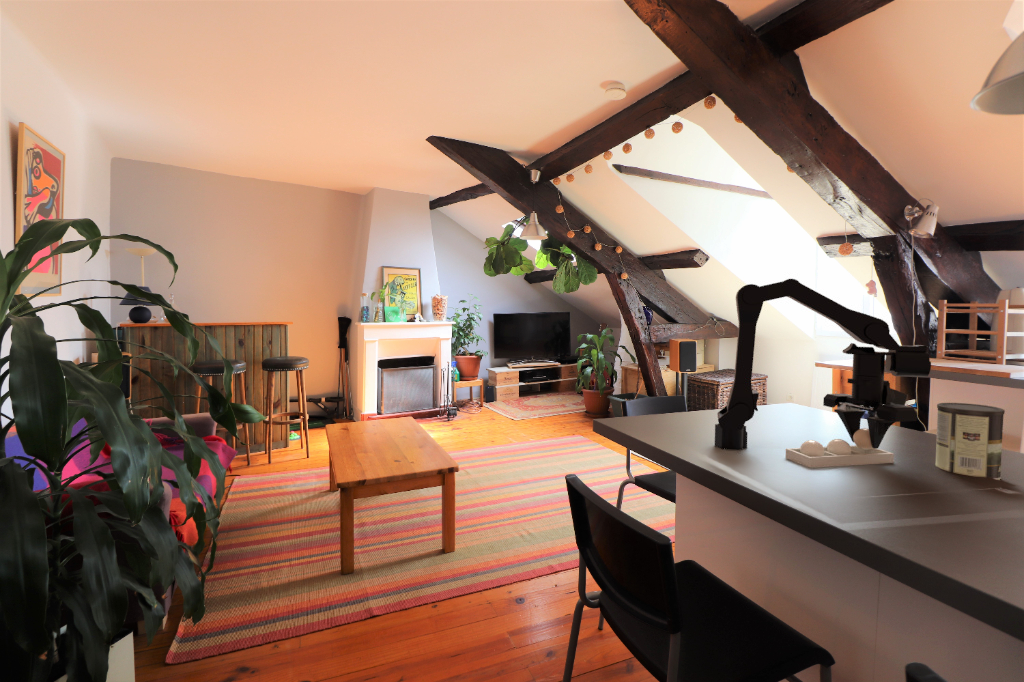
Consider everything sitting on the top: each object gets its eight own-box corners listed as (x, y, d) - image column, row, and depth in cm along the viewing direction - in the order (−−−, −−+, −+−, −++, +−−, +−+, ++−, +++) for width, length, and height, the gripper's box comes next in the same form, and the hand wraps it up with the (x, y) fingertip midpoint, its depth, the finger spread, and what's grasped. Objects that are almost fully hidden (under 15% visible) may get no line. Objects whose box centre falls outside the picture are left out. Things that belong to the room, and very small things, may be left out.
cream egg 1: (810, 465, 107) (811, 443, 107) (794, 458, 112) (795, 438, 111) (829, 464, 108) (830, 442, 108) (813, 457, 112) (814, 437, 112)
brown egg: (865, 452, 109) (866, 431, 109) (847, 446, 114) (848, 426, 113) (883, 451, 110) (884, 430, 110) (865, 445, 114) (866, 425, 114)
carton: (809, 471, 106) (809, 457, 105) (785, 461, 113) (785, 448, 113) (893, 467, 109) (893, 453, 109) (864, 457, 116) (865, 444, 116)
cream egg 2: (837, 463, 108) (838, 442, 108) (821, 457, 113) (821, 437, 112) (856, 462, 109) (857, 441, 109) (839, 456, 113) (840, 436, 113)
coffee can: (977, 468, 109) (981, 403, 108) (1014, 484, 98) (1019, 412, 98) (922, 465, 111) (926, 401, 110) (953, 480, 101) (957, 410, 100)
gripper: (941, 379, 103) (937, 455, 104) (863, 369, 121) (860, 433, 122) (894, 381, 101) (891, 457, 102) (822, 370, 120) (820, 435, 120)
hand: (865, 445), depth 112 cm, fingers open, 5 cm apart
